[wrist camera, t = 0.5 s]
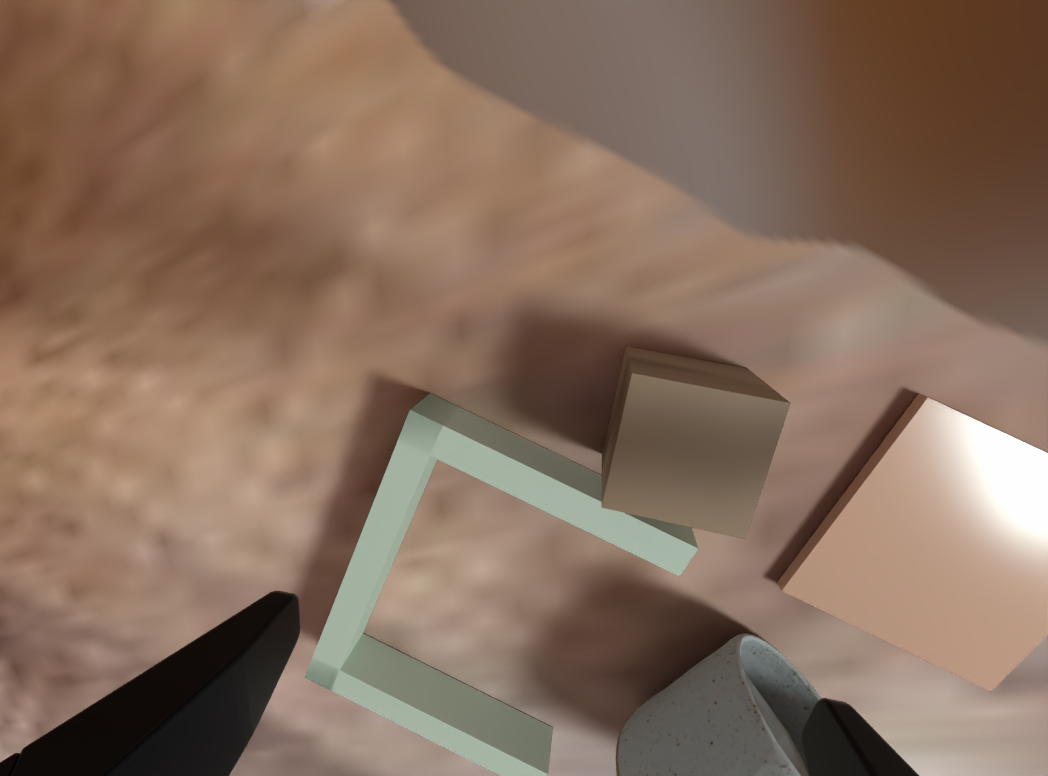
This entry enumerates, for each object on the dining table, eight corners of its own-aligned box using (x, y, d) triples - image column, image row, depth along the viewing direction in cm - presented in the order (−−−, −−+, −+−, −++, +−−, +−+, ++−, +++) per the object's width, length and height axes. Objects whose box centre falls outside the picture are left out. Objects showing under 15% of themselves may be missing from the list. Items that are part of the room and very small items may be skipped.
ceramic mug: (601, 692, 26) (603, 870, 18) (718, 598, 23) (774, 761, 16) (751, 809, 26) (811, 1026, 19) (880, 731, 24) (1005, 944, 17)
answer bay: (541, 745, 27) (535, 793, 25) (330, 640, 27) (304, 677, 25) (688, 517, 22) (698, 548, 20) (430, 393, 23) (409, 409, 20)
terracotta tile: (980, 680, 22) (990, 691, 22) (777, 582, 22) (781, 590, 22) (1155, 504, 19) (1172, 511, 19) (918, 393, 19) (928, 397, 19)
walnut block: (714, 476, 22) (745, 539, 17) (601, 453, 22) (601, 507, 18) (746, 367, 20) (790, 403, 16) (625, 345, 21) (632, 373, 16)
